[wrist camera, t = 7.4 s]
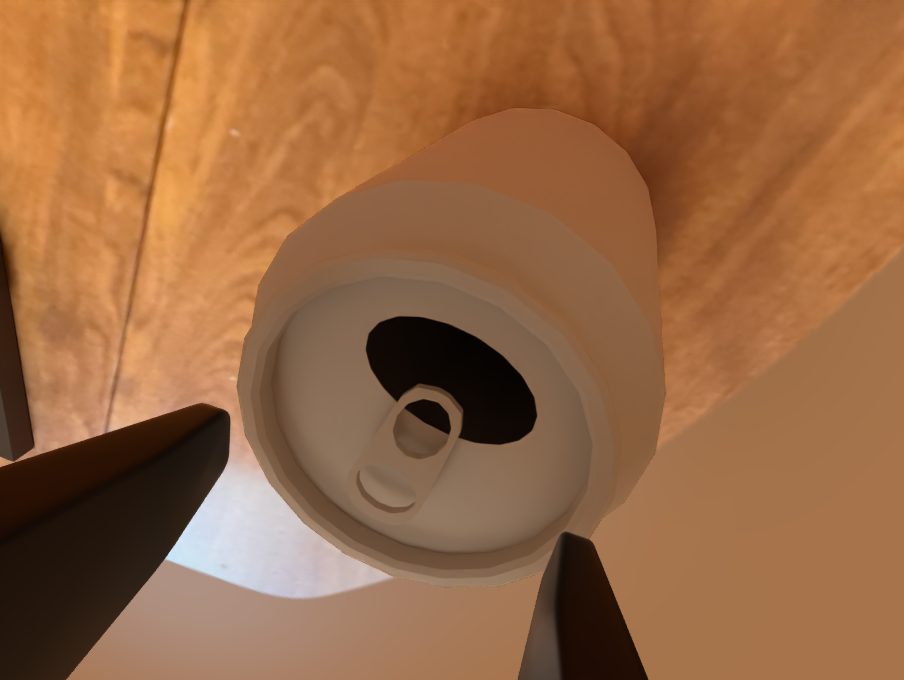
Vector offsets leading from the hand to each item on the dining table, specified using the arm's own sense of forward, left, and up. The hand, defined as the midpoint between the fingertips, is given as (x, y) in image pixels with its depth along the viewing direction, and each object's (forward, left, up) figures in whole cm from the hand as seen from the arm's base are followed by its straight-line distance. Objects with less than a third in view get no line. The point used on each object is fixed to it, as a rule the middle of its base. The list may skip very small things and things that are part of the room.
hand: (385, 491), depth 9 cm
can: (0, 0, -13) cm, 13 cm away
